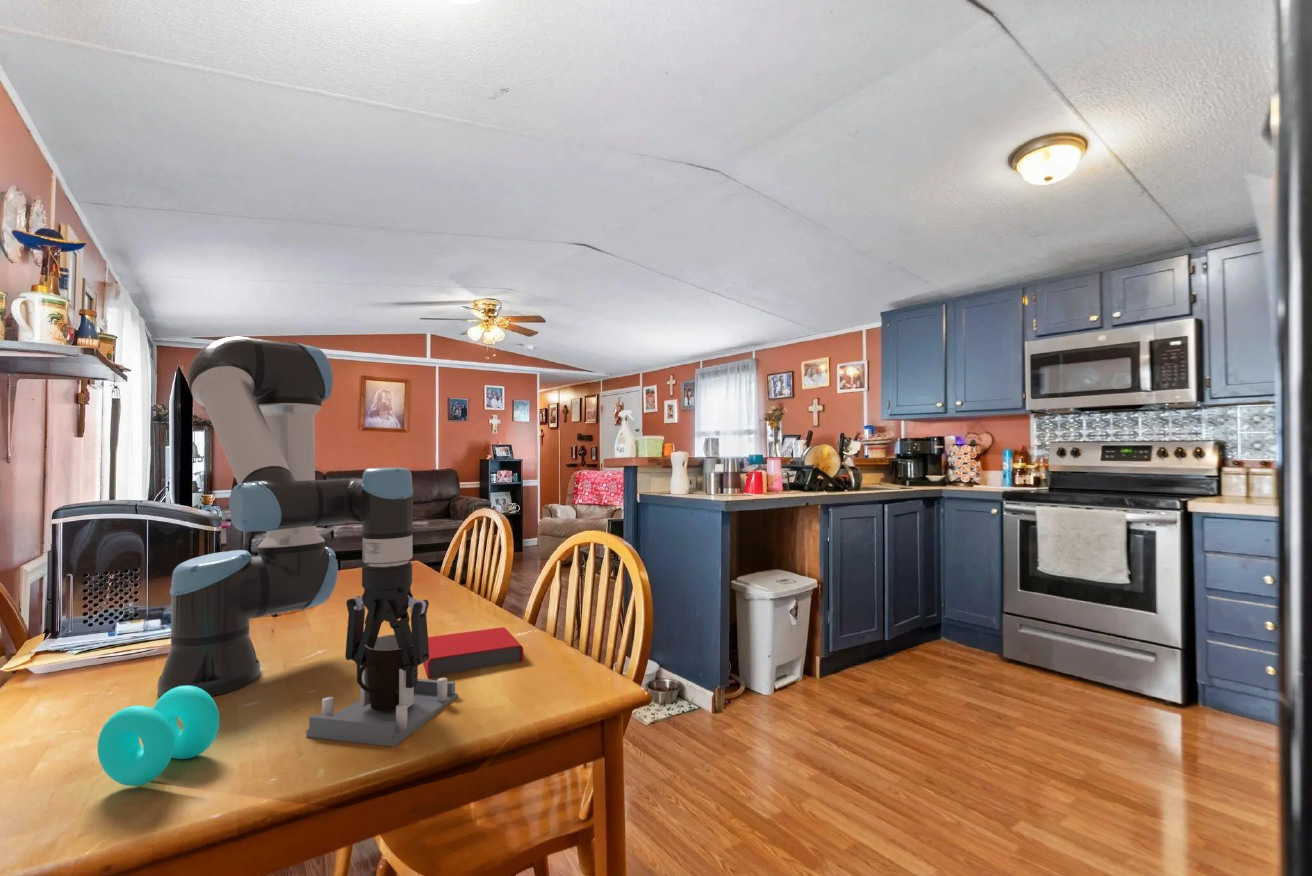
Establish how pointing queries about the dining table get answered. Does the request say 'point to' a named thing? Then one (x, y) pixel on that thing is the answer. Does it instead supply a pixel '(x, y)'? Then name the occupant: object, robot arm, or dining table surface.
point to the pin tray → (382, 716)
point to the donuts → (157, 735)
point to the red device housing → (471, 651)
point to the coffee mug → (383, 673)
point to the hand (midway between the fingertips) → (387, 704)
